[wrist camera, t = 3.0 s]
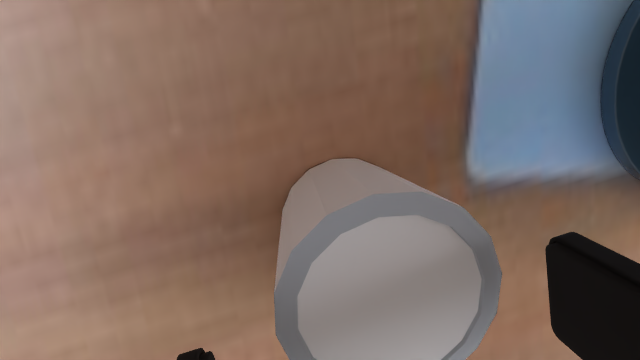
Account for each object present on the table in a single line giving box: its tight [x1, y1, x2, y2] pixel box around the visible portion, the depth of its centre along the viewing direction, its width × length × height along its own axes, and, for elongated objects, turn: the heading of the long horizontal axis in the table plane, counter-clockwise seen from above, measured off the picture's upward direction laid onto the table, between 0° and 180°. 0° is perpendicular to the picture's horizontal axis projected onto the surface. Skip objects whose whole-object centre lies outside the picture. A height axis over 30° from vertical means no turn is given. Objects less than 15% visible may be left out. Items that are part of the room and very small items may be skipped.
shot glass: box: [274, 158, 502, 360], centre depth 14 cm, size 7×7×7 cm
